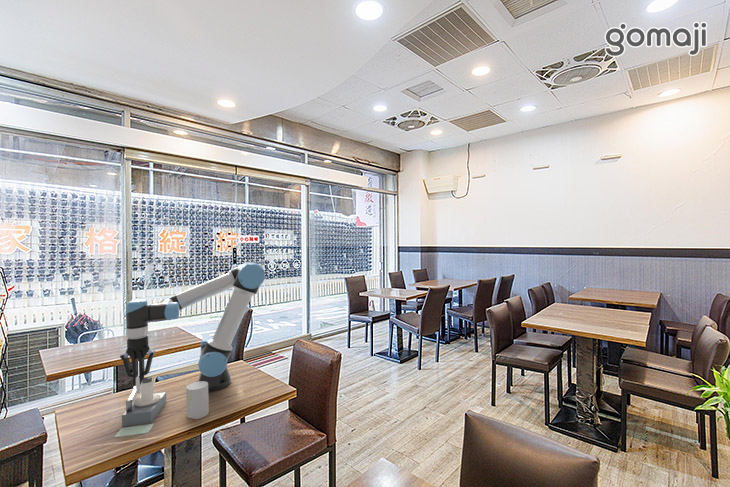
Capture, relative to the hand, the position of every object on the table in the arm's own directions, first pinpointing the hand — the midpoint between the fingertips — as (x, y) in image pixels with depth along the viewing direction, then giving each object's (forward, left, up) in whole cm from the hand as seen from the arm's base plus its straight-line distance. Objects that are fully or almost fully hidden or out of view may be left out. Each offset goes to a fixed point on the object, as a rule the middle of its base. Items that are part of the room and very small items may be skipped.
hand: (139, 391), depth 143 cm
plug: (-5, +5, -7) cm, 10 cm away
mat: (-5, +19, -8) cm, 21 cm away
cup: (-25, +11, -8) cm, 29 cm away
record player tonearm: (0, +5, -3) cm, 6 cm away
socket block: (-4, +6, -8) cm, 11 cm away
